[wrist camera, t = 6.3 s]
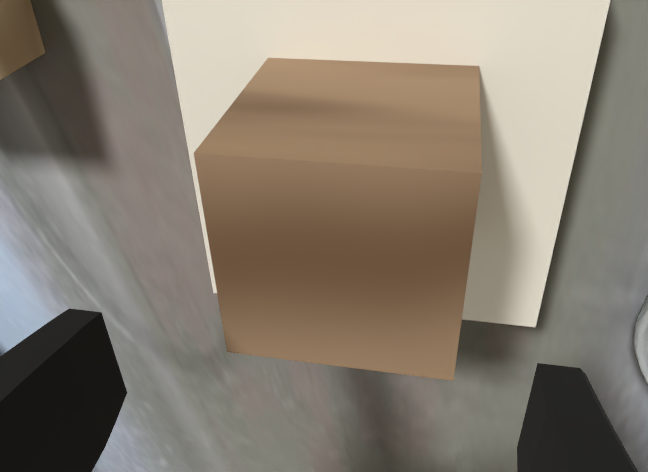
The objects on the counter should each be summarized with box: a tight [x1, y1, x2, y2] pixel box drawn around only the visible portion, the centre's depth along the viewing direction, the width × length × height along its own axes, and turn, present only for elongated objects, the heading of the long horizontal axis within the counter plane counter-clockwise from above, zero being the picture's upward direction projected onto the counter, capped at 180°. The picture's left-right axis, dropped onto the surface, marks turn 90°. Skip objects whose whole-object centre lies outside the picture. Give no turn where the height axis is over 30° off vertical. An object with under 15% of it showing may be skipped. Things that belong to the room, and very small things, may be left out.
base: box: [162, 0, 610, 327], centre depth 17 cm, size 10×10×2 cm
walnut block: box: [194, 58, 482, 381], centre depth 14 cm, size 5×5×5 cm
